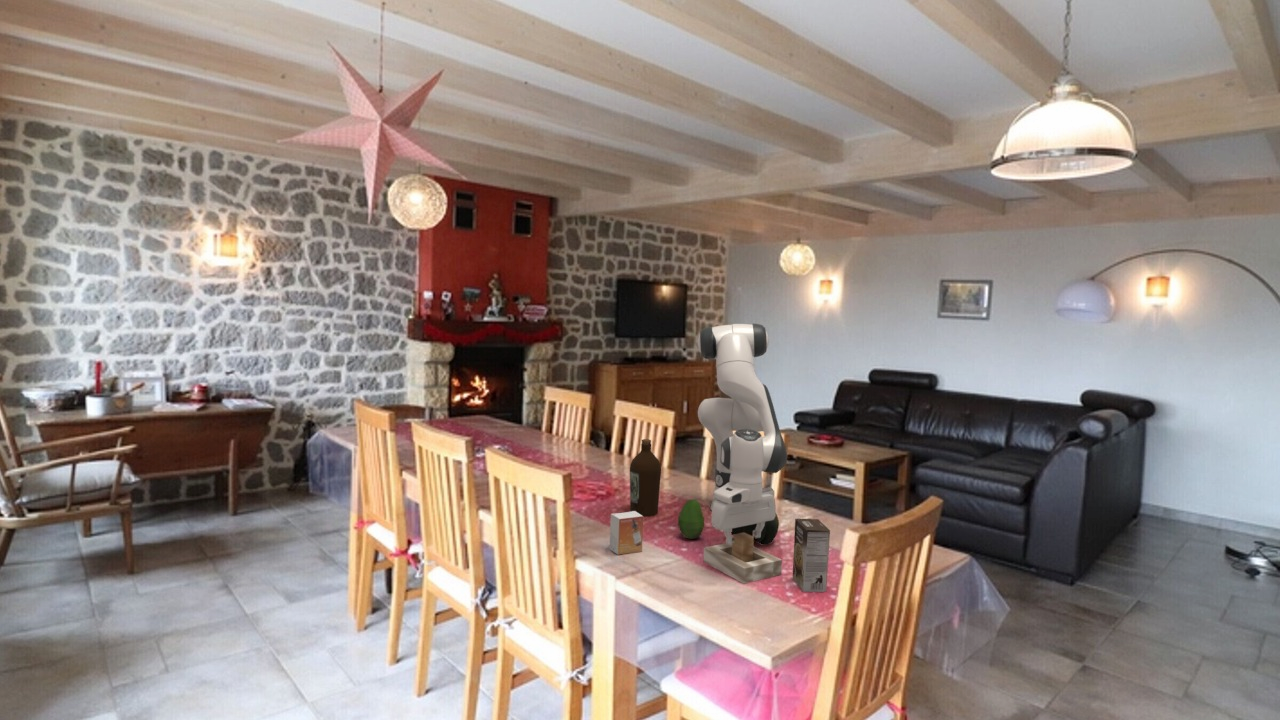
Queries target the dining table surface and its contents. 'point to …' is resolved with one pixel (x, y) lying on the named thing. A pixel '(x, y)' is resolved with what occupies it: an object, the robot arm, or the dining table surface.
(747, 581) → the rectangular frame
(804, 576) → the coffee box
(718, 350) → the robot arm
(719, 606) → the dining table surface
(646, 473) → the olive oil
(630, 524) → the small box
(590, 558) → the dining table surface
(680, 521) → the avocado
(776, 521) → the squash
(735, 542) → the tan wooden block
